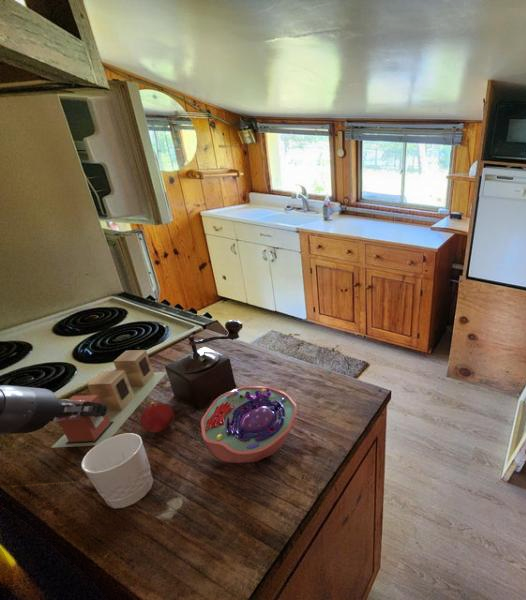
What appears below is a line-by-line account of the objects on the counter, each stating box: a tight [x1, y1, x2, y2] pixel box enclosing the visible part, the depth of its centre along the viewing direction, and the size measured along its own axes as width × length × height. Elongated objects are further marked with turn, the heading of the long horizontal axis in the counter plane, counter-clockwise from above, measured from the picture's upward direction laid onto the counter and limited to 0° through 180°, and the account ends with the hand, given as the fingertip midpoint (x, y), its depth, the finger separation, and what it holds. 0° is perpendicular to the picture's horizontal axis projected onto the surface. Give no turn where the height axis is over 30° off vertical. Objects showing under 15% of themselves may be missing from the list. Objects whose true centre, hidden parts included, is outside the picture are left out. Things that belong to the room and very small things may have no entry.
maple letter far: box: [112, 349, 155, 387], centre depth 83 cm, size 5×5×8 cm
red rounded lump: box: [139, 401, 175, 433], centre depth 69 cm, size 6×6×8 cm
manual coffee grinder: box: [164, 319, 243, 411], centre depth 81 cm, size 16×11×18 cm
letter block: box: [57, 394, 110, 442], centre depth 68 cm, size 5×5×8 cm
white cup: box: [80, 432, 155, 509], centre depth 57 cm, size 8×8×10 cm
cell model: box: [200, 385, 298, 464], centre depth 67 cm, size 17×20×11 cm
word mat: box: [50, 371, 167, 449], centre depth 77 cm, size 10×24×1 cm, turn 6°
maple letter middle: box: [86, 370, 135, 412], centre depth 75 cm, size 5×5×8 cm
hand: (90, 411), depth 69 cm, fingers closed on letter block, 5 cm apart
